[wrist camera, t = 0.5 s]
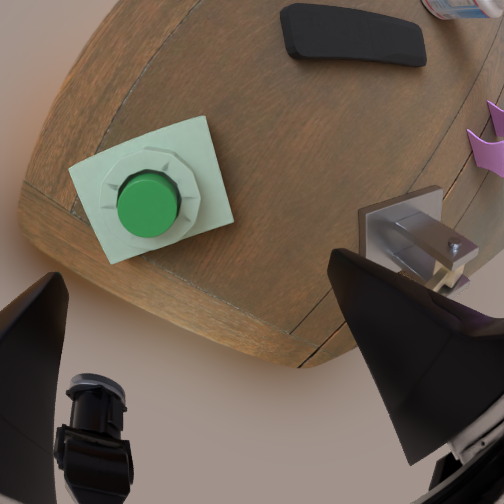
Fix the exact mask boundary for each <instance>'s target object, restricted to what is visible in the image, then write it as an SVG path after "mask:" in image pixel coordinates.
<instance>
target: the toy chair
mask: <svg viewBox="0 0 504 504" xmlns="http://www.w3.org/2000/svg"><path fill="white" fill-rule="evenodd" d="M487 103H488V106H489V109H490V113H491V116H492V120H493V124H494V128H495V132H496V135H497V136H501V137H504V111H503V110H501V109H499V108H498V107H496V106H495V105H494V104H492V103H491V102H490V101H489V100H488V101H487ZM467 133H468V136H469V140H470V143H471V146H472V150H473V153H474V157H475V161H476V165H477V166H478V167H482V168H486V169H488V170H491V171H493V172H494V173H496V174H498V175H499V176H501V177H502V178H504V141H500V142H496V143H488V142H485V141H483V140H481V139H480V138H478V137H477V136H476V135H475V134H473V133H472V132H471V131H470V130H469V129H467Z"/></svg>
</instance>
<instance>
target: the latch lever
mask: <svg viewBox="0 0 504 504" xmlns="http://www.w3.org/2000/svg"><path fill="white" fill-rule="evenodd" d="M464 265H465V264H463V265H462V266H460V267H459V268H457V269H456V270H454V271H452V272H451V271H450V270H449V269H447V268H446V267H445V266H443V265H442V264H441V263H439V262H438V261H437V260H436V262H435V267H434V272H433V277H432V278H431V279H430V280H429V281H428V282H427V283H426V284H425V285H424V286H425V287H427V289H428V288H429V289H431V290H433V291H435V292H438V290H439V289H440V288H441V287H442V286H443V284H445V285H447V286H448V287H450V288H452V287H453V285H454V284H455V283H456V281H457V280H458V279H459V278H460V276H461V275H462V273H463V269H464Z"/></svg>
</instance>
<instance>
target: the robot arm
mask: <svg viewBox="0 0 504 504" xmlns="http://www.w3.org/2000/svg"><path fill="white" fill-rule="evenodd" d="M327 274H328V277H329V280H330V283H331V285H332V288H333V290H334V293H335V296H336V298H337V301H338V304H339V306H340V309H341V311H342V314H343V316H344V318H345V320H346V322H347V324H348V326H349V328H350V330H351V332H352V334H353V336H354V338H355V340H356V342H357V345H358V347H359V349H360V351H361V353H362V355H363V357H364V359H365V362H366V364H367V366H368V368H369V370H370V372H371V374H372V377H373V379H374V381H375V384H376V386H377V388H378V390H379V393H380V395H381V397H382V399H383V402H384V404H385V406H386V409H387V411H388V413H389V414H390V415H389V416H390V419H391V421H392V423H393V426H394V428H395V431H396V433H397V435H398V438H399V441H400V443H401V445H402V448H403V451H404V453H405V456H406V459H407V461H408V463H409V465H410V466H411V465H413V464H415V463H416V462H418V461H420V460H421V459H423V458H424V457H426V456H428V455H429V454H430V453H432V452H434V451H435V450H437V449H438V448H440V447H441V446H442V445H444V444H445V443H447V444H448V446H449V448H450V450H451V451H450V452H449V453H448V454H446V455H445V456H443V457H442V458H441V459H439V460H438V461H437V462H436V466H435V470H434V473H433V476H432V480H431V483H430V486H429V492H428V493H426V494H425V495H423V496H421V497H420V498H418V499H417V500H415V501H414V502H412V503H410V504H504V318H492V317H489V316H487V315H484V314H482V313H480V312H477V311H476V310H473V309H471V308H469V307H467V306H464V305H462V304H460V303H458V302H455V301H453V300H451V299H449V298H447V297H445V296H443V295H441V294H439V293H437V292H435V291H433V290H431V289H429V288H428V289H427V287H425V286H423V285H421V284H419V283H417V282H415V281H413V280H411V279H409V278H407V277H405V276H403V275H400V274H398V273H396V272H394V271H392V270H390V269H388V268H386V267H384V266H382V265H380V264H377V263H375V262H373V261H371V260H369V259H367V258H365V257H362V256H360V255H358V254H356V253H354V252H352V251H349V250H347V249H345V248H338V249H333V250H332V252H331V256H330V260H329V265H328V269H327ZM68 301H69V293H68V290H67V288H66V285H65V282H64V280H63V277H62V275H61V273H59V272H49V273H47V274H46V275H45V276H43V277H42V278H41V279H39V280H38V281H37V282H36V283H34V284H33V285H32V286H30V287H29V288H28V289H27V290H25V291H24V292H23V293H22V294H20V295H19V296H18V297H17V298H16V299H14V300H13V301H12V302H11V303H10V304H8V305H7V306H6V307H5V308H4V309H3V310H1V311H0V504H57V500H56V491H55V478H54V457H55V459H56V460H57V464H58V465H59V466H58V467H59V470H63V471H64V481H65V488H66V489H67V491H68V493H69V494H70V496H71V498H72V499H73V501H74V502H75V504H123V502H124V501H125V499H126V498H127V496H128V494H129V493H130V485H132V484H133V478H134V470H133V469H134V468H133V461H132V456H131V449H130V442H129V440H121V431H123V412H126V411H127V407H125V406H124V405H123V404H122V403H121V402H120V401H119V400H118V399H117V398H116V397H115V396H114V395H112V394H111V393H110V392H109V391H108V390H107V389H106V388H105V387H104V386H103V385H100V384H98V385H93V386H88V387H82V388H77V389H71V390H67V391H66V395H67V396H68V397H70V399H72V400H73V402H72V409H71V417H70V426H67V425H65V424H62V427H58V428H57V432H56V440H55V445H54V451H53V439H54V414H55V401H56V390H57V381H58V374H59V366H60V360H61V354H62V347H63V342H64V335H65V326H66V317H67V308H68Z"/></svg>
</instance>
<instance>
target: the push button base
mask: <svg viewBox="0 0 504 504" xmlns="http://www.w3.org/2000/svg"><path fill="white" fill-rule="evenodd" d="M68 170H69V172H70V175H71V178H72V180H73V183H74V185H75V188H76V190H77V193H78V195H79V198H80V200H81V202H82V205H83V207H84V209H85V212H86V214H87V216H88V218H89V221H90V223H91V225H92V227H93V229H94V231H95V234H96V236H97V238H98V240H99V242H100V244H101V246H102V248H103V250H104V252H105V254H106V256H107V258H108V260H109V262H110V263H111V265H112V264H115V263H117V262H120V261H123V260H126V259H128V258H131V257H134V256H137V255H139V254H142V253H145V252H148V251H150V250H156V249H159V248H162V247H164V246H167V245H170V244H173V243H176V242H178V241H179V240H182V239H185V238H188V237H191V236H194V235H197V234H200V233H203V232H205V231H208V230H211V229H214V228H218V227H221V226H224V225H227V224H230V223H233V222H234V219H233V216H232V212H231V208H230V205H229V201H228V198H227V194H226V190H225V187H224V183H223V179H222V176H221V172H220V169H219V165H218V161H217V158H216V154H215V150H214V147H213V143H212V139H211V136H210V132H209V128H208V124H207V121H206V117H205V116H198V117H195V118H191V119H188V120H185V121H182V122H179V123H175V124H172V125H169V126H166V127H163V128H161V129H158V130H155V131H152V132H149V133H147V134H144V135H141V136H139V137H136V138H133V139H131V140H128V141H126V142H123V143H121V144H119V145H116V146H114V147H111V148H109V149H107V150H105V151H102V152H100V153H98V154H96V155H93V156H91V157H89V158H87V159H85V160H83V161H81V162H79V163H77V164H75V165H74V166H72V167H70V168H69V169H68ZM148 173H151V174H157V175H160V176H162V177H164V178H165V179H167V180H168V181H169V182H170V183H171V184H172V186H173V188H174V190H175V192H176V197H177V214H176V218H175V220H174V222H173V224H172V225H171V227H170V228H169V229H168V230H167V231H166V232H164V233H163V234H161V235H159V236H156V237H151V238H143V237H138V236H135V235H133V234H131V233H130V232H129V231H127V230H126V229H125V228H124V227H123V225H122V224H121V222H120V220H119V217H118V213H117V204H118V200H119V197H120V195H121V193H122V192H123V190H124V188H125V187H126V185H127V184H128V183H129V182H130V181H131V180H132V179H133V178H135V177H137V176H139V175H142V174H148Z"/></svg>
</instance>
